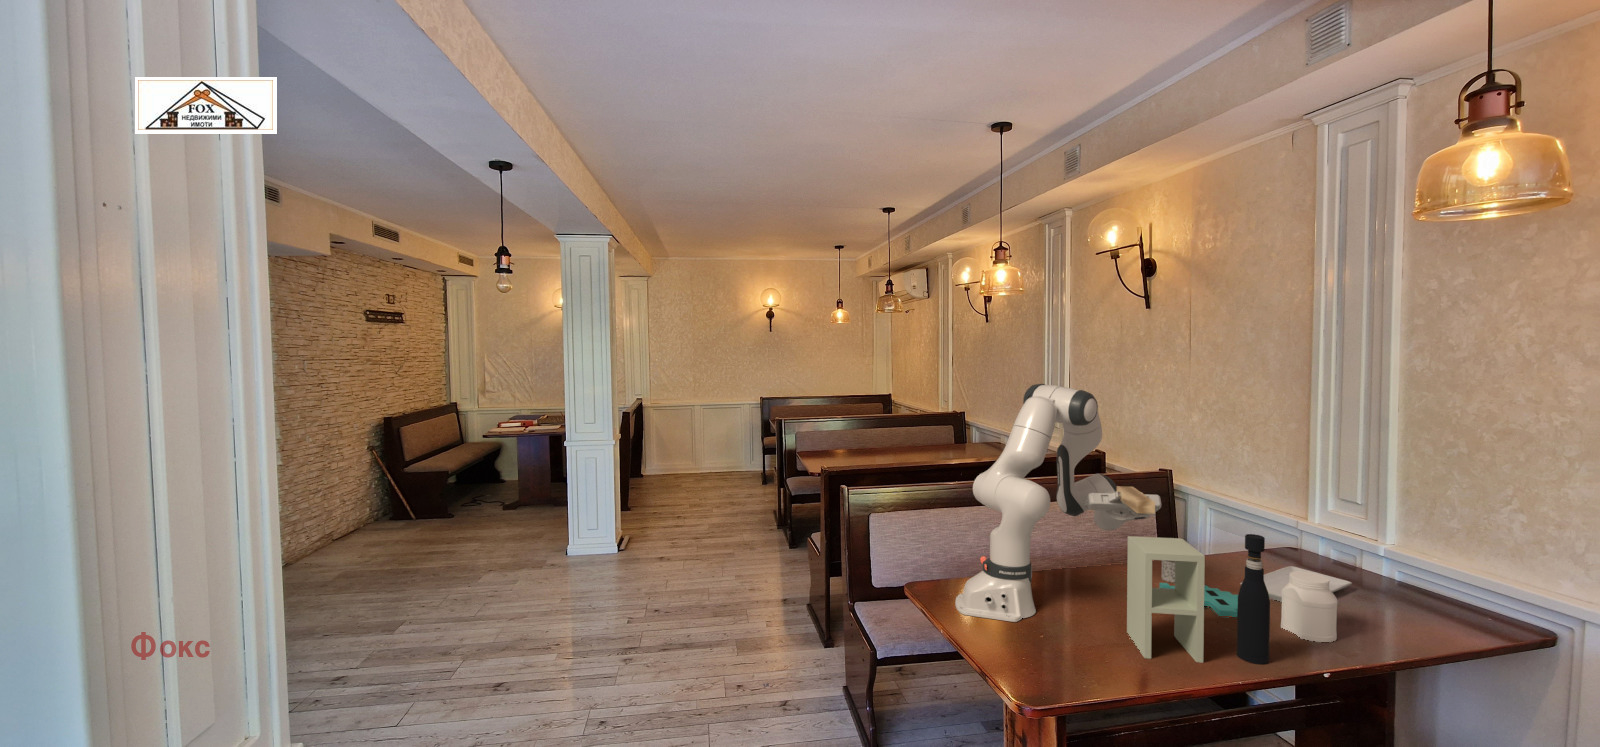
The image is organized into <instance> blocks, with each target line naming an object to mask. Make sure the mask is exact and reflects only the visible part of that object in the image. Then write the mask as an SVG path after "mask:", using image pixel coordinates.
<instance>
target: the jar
mask: <svg viewBox="0 0 1600 747" xmlns="http://www.w3.org/2000/svg"><path fill="white" fill-rule="evenodd" d="M1289 577H1290V578H1289V579H1290V580H1289V583H1288V584H1287V585H1286V586H1285V587H1284V588H1283V589H1282V590H1281V595H1282V603H1281V614H1280V615H1281V616H1280V617H1281V621H1280V628H1281V629H1282V628H1283V629H1282V630H1284V629H1285V630H1284V631H1286V630H1288V631H1287V632H1289V631H1290V632H1289V633H1291V632H1292V633H1291V634H1293V633H1294V634H1296V635H1297V636H1298V637H1297V636H1296V635H1295V636H1296V637H1297V638H1299V637H1300V638H1299V639H1301V640H1303V639H1305V640H1304V641H1307V640H1309V641H1308V642H1313V641H1315V642H1314V643H1321V642H1329V643H1333V641H1334V642H1335V641H1336V640H1337V638H1338V637H1337V635H1338V633H1337V620H1338V618H1337V617H1338V616H1337V614H1338V613H1337V611H1338V598H1337V597H1336V595H1335V594H1334V592H1333V593H1332V592H1331V590H1330V589H1329V587H1330V586H1329V585H1330V584H1329V582H1330V581H1329V579H1328V578H1326V577H1324V576H1322V575H1318V574H1314V573H1309V572H1300V571H1296V572H1291V573H1290V576H1289ZM1294 634H1293V635H1294Z"/></svg>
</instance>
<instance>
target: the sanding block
mask: <svg viewBox="0 0 1600 747" xmlns="http://www.w3.org/2000/svg"><path fill="white" fill-rule="evenodd" d="M1116 486H1117V492H1121V495H1122V497H1121V499H1118V500H1120V501H1121V502H1122V503H1123V504H1125V505H1126V506H1127V507H1128V508H1130V509H1131V510H1132V511H1133V512H1134V513H1136V514H1137V515H1150V516H1156V512H1155V502H1154V501H1153V500H1151V499H1150V498H1148V497H1147V496H1146V495H1144V494H1145V493H1143V492H1142V493H1141V491H1139V489H1137V488H1135V487H1134V486H1123V485H1122V486H1119V485H1116Z"/></svg>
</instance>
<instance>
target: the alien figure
mask: <svg viewBox="0 0 1600 747" xmlns="http://www.w3.org/2000/svg"><path fill="white" fill-rule="evenodd" d="M1159 588H1168V589H1175V585H1170V584H1169V582H1159ZM1204 606H1210V607H1211V608H1212V609H1213V610H1214V611H1215V612H1216V613H1217V614H1218V615H1219V616H1232V617H1237V611H1238V594H1232V592H1230V591H1223V590H1220V589H1219V588H1217V587H1216V588H1214V587H1210V586H1208V585H1205V584H1204ZM1211 608H1210V609H1211ZM1212 609H1211V610H1212ZM1213 610H1212V611H1213ZM1214 611H1213V612H1214ZM1215 612H1214V613H1215ZM1216 613H1215V614H1216ZM1217 614H1216V615H1217ZM1218 615H1217V616H1218ZM1219 616H1218V617H1219Z"/></svg>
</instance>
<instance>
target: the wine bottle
mask: <svg viewBox="0 0 1600 747" xmlns="http://www.w3.org/2000/svg"><path fill="white" fill-rule="evenodd" d="M1265 540H1266V538H1265V537H1264V536H1263V535H1260V534H1255V533H1254V534H1253V533H1249V534H1247V533H1246V534H1245V536H1244V548H1245V550H1247V557H1248V558H1246V561H1245V562H1246V565H1245V566H1244V578H1243V580H1242V584H1241V585H1240V587H1239V591H1238V594H1237V595H1238V611H1237V618H1236V619H1237V623H1236V625H1237V626H1236V627H1237V628H1236V630H1237V631H1236V656H1237V657H1238V658H1239V659H1240V660H1243V661H1245V662H1247V663H1250V664H1255V665H1267V664H1269V662H1270V634H1271V632H1270V630H1271V629H1270V628H1271V624H1270V622H1271V620H1270V619H1271V601H1270V600H1271V599H1269V594H1268V591H1267V588H1266V585H1265V582H1264V574H1265V569H1264V568H1263V567H1264V566H1263V563H1264V562H1263V560H1261V559H1262V553H1263V552H1265V544H1266V541H1265Z"/></svg>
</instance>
